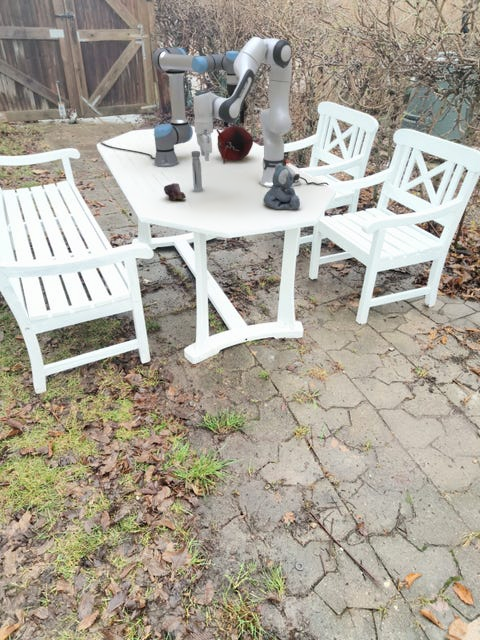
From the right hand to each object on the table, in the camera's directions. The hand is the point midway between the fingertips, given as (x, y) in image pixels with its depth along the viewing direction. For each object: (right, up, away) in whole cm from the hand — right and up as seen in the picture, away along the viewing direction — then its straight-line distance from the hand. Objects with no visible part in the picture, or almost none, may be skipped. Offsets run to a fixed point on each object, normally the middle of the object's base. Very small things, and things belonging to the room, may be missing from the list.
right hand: (205, 158), depth 222 cm
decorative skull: (+14, +29, +81) cm, 87 cm away
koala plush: (+38, -21, +8) cm, 44 cm away
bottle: (-6, -8, +28) cm, 30 cm away
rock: (-17, -16, +17) cm, 29 cm away
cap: (-6, +9, +17) cm, 20 cm away
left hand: (+14, +33, +38) cm, 52 cm away
